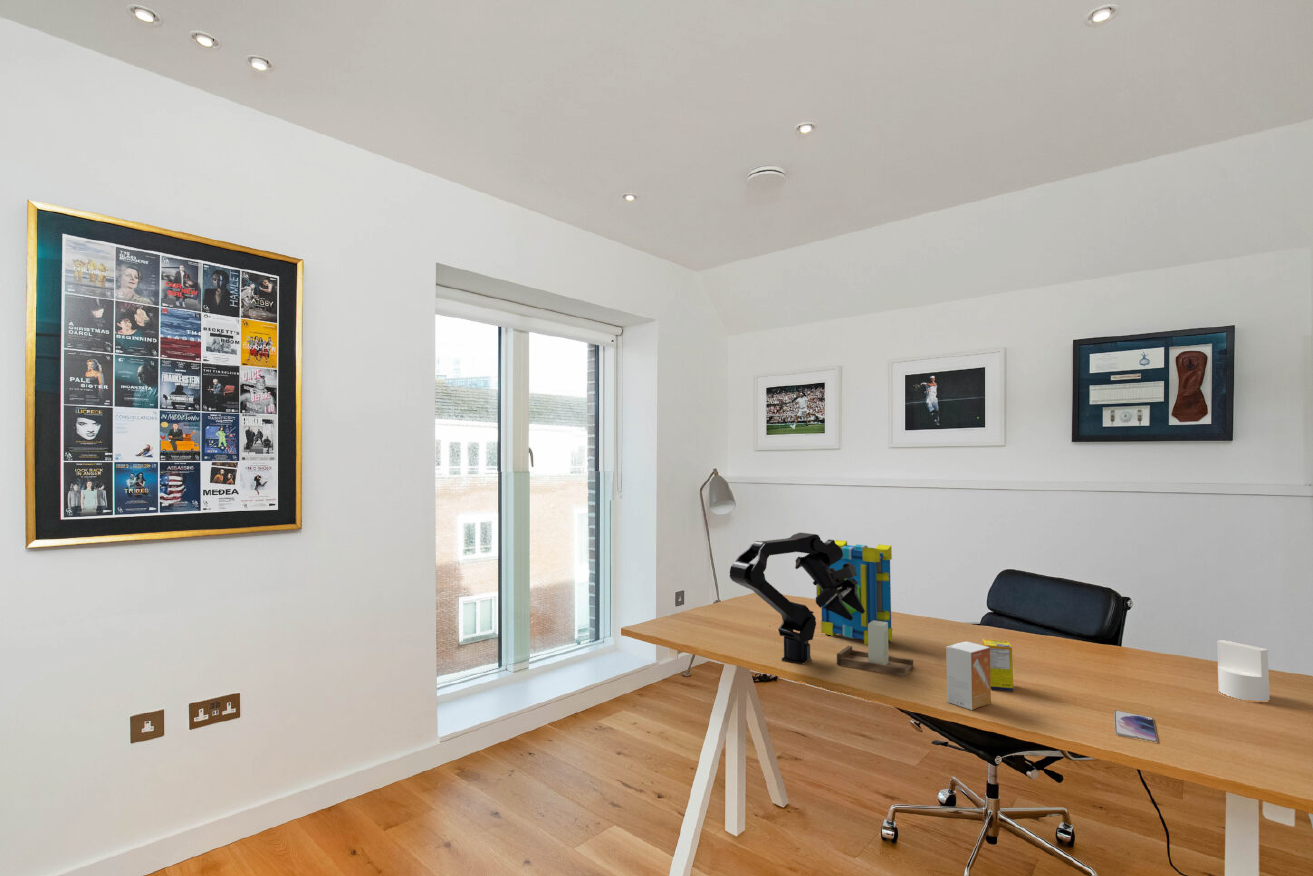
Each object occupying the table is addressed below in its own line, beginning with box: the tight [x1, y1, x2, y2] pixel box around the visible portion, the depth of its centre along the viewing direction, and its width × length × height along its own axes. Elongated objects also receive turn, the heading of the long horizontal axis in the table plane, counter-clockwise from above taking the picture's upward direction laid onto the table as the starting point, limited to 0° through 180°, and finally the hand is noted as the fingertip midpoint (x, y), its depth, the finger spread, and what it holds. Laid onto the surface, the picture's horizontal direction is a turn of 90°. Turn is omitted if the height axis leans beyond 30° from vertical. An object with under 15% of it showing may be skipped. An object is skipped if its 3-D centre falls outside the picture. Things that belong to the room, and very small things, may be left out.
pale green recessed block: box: [867, 620, 889, 665], centre depth 175 cm, size 4×5×11 cm
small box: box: [945, 640, 992, 711], centre depth 149 cm, size 8×6×13 cm
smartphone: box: [1113, 710, 1159, 743], centre depth 135 cm, size 7×1×15 cm
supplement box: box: [981, 638, 1014, 692], centre depth 159 cm, size 6×6×11 cm
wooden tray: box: [836, 645, 914, 678], centre depth 176 cm, size 18×10×3 cm, turn 55°
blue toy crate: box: [815, 539, 893, 646], centre depth 204 cm, size 14×23×30 cm, turn 40°
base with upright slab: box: [1216, 639, 1271, 701], centre depth 152 cm, size 9×9×12 cm
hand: (858, 616), depth 178 cm, fingers open, 9 cm apart
